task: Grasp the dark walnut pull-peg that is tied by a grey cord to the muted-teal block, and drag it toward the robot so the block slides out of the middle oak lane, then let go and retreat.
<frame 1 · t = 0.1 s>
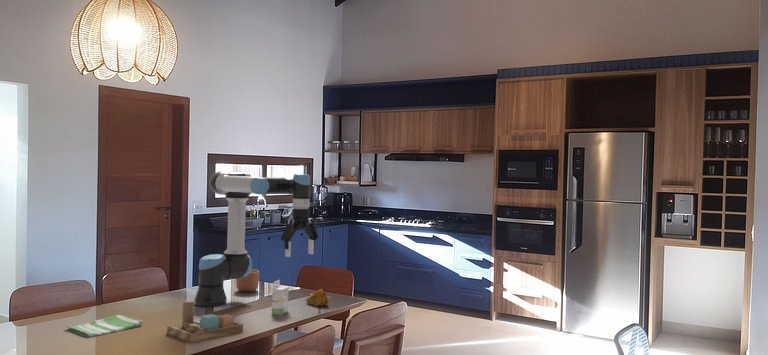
hand: (299, 255, 264), 28 cm above the table, fingers open, 13 cm apart
oak lanes: (205, 332, 235), on the table
dish towel: (105, 329, 238), on the table
ink box: (279, 313, 271), on the table
planter: (247, 291, 318), on the table
terracotta block: (225, 330, 239), resting in oak lanes
teal block: (198, 317, 238), point 5 cm above the table, slide at 0.0 cm
rock: (318, 305, 291), on the table
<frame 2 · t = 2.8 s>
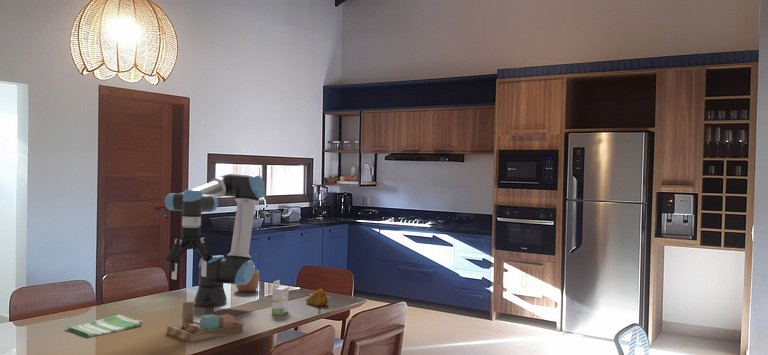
hand: (189, 277, 244), 20 cm above the table, fingers open, 13 cm apart
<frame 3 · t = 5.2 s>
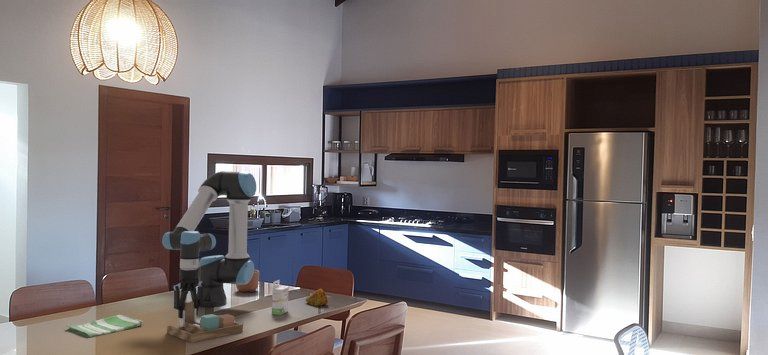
hand: (187, 324, 243), 1 cm above the table, fingers closed on teal block, 4 cm apart
teal block: (198, 317, 238), point 5 cm above the table, slide at 0.0 cm, touching gripper
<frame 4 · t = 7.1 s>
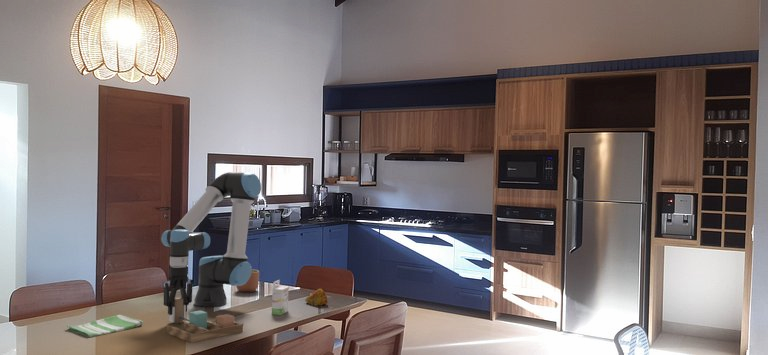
hand: (177, 320, 249), 1 cm above the table, fingers closed on teal block, 4 cm apart
teal block: (187, 313, 243), point 5 cm above the table, slide at 8.3 cm, touching gripper
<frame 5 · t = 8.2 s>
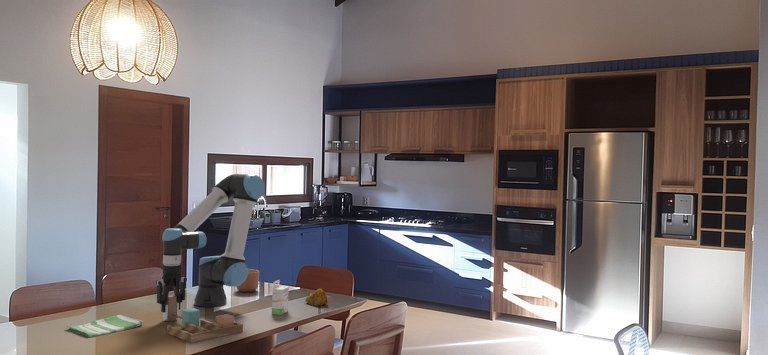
hand: (170, 318, 252), 1 cm above the table, fingers closed on teal block, 4 cm apart
teal block: (180, 311, 247), point 5 cm above the table, slide at 13.9 cm, touching gripper
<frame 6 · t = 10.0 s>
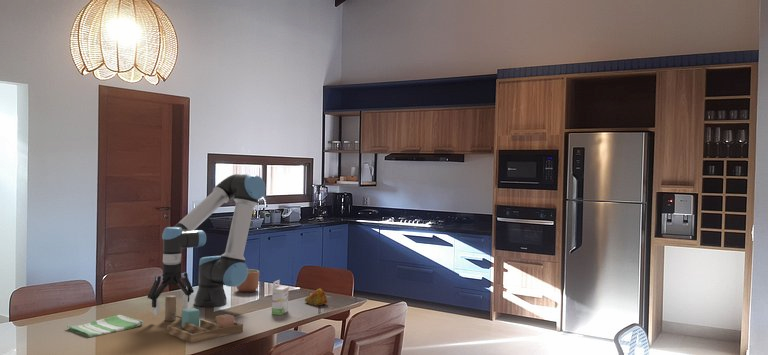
hand: (170, 312, 253), 3 cm above the table, fingers open, 13 cm apart
teal block: (180, 311, 247), point 5 cm above the table, slide at 14.0 cm
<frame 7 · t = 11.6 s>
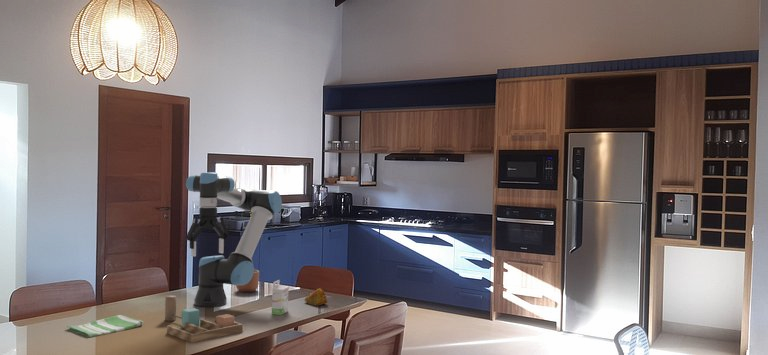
hand: (207, 254, 261), 27 cm above the table, fingers open, 13 cm apart
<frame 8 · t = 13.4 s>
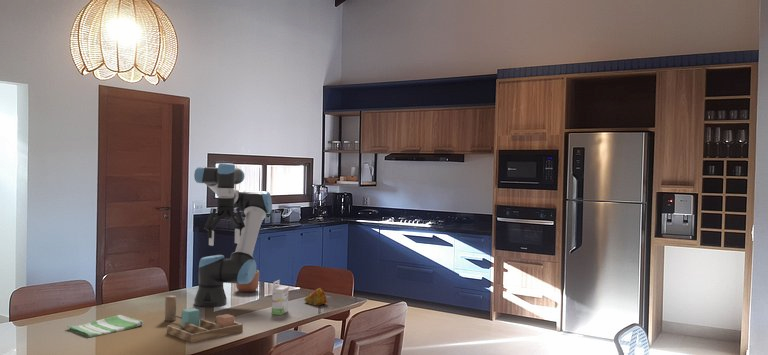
hand: (224, 244, 265), 32 cm above the table, fingers open, 13 cm apart
at the end: teal block slide at 14.0 cm; the gripper is holding nothing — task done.
